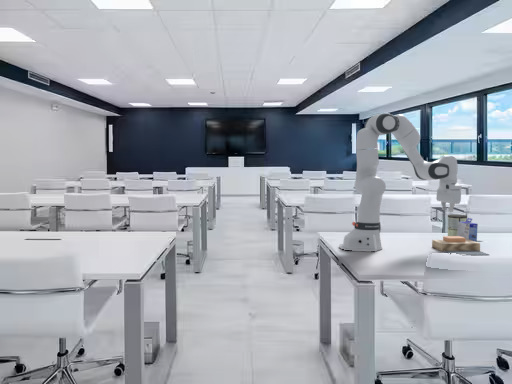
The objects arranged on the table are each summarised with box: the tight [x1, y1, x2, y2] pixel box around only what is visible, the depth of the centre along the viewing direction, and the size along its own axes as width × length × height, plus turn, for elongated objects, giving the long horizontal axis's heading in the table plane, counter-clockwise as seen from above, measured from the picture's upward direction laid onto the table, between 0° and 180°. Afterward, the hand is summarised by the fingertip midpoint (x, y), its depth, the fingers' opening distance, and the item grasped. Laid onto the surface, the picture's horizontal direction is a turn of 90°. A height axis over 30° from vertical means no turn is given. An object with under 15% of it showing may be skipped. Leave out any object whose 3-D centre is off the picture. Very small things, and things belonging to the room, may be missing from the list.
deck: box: [431, 239, 481, 252], centre depth 221 cm, size 20×11×4 cm, turn 92°
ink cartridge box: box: [457, 217, 479, 242], centre depth 233 cm, size 10×6×14 cm, turn 11°
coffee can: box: [447, 213, 468, 236], centre depth 250 cm, size 10×10×14 cm
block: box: [442, 235, 466, 242], centre depth 222 cm, size 9×6×2 cm, turn 92°
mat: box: [443, 250, 490, 256], centre depth 210 cm, size 18×10×1 cm, turn 92°
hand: (447, 210), depth 229 cm, fingers open, 6 cm apart
